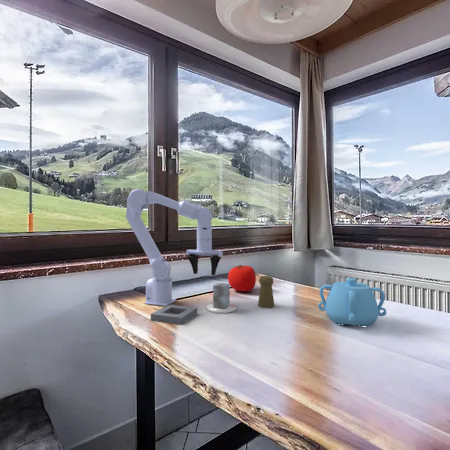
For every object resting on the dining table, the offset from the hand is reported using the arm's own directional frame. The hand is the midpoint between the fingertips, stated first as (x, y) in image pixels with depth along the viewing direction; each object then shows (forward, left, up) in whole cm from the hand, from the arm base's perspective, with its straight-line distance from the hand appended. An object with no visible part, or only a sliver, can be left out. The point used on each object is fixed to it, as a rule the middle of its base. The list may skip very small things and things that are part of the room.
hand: (204, 274), depth 124 cm
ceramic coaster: (+10, -7, -10) cm, 16 cm away
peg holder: (-1, -21, -10) cm, 23 cm away
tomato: (+9, +20, -11) cm, 24 cm away
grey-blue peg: (+10, -7, -10) cm, 16 cm away
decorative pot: (+53, -5, -11) cm, 54 cm away
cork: (+24, +2, -11) cm, 26 cm away
